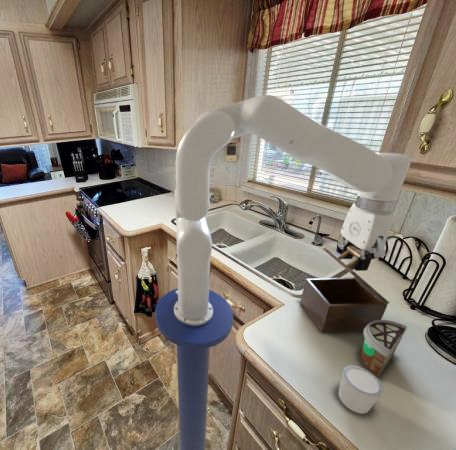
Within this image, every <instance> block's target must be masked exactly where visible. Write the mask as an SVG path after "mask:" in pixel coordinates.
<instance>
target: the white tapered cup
mask: <svg viewBox="0 0 456 450" xmlns="http://www.w3.org/2000/svg"><path fill="white" fill-rule="evenodd" d="M341 373H342V375H341V379H340V383H339V388H338V398H339V400H340V402H341V403H342V404H343V405H344V406H345V407H346V408H347V409H349V410H351V412H354V413H356V414H360V415H363V414H367V413H368V412H369V411H370V410H371V409H372V407H373V406H374V405H375V403H376V402H377V401H378V400H379V398H380V397H381V396H382V394H383V393H384V386H383V385H382V383H381V381H380V379H378V378H377V376H376V375H375V374H373V373H372V372H371V371H370V370H368V369H365V368H363V367H362V366H358V365H346V366H344V368H343V369H342V372H341Z"/></svg>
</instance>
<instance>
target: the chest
mask: <svg viewBox="0 0 456 450" xmlns="http://www.w3.org/2000/svg"><path fill="white" fill-rule="evenodd" d="M301 294H302V295H301V298H300V301H299V303H300V304H301V305H302V307H303V308H304V309H305V311H306V312H307V314H308V315H309V316H310V318H311V319H312V321H313V322H314V323H315V325H316V326H317V327H318V329H319V330H320V331H321V333H330V332H332V333H335V332H364V329H365V327H366V326H367V325H368V324H369V323H371V322H372V321H375V320H383V316H384V314H385V312H386V310H387V307H388V304H386V303H385V302H384V301H382V300H381V299H380V298H379V297H378V296H377V295H375V294H374V293H373V292H372V291H371V290H370V289H368V288H367V287H366V286H365V285H364V284H363V283H361V282H360V281H359V280H358V279H357V278H356V277H354V276H352V277H349V276H348V277H316V278H315V277H314V278H305V280H304V285H303V289H302V293H301Z"/></svg>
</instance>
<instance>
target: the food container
mask: <svg viewBox="0 0 456 450" xmlns="http://www.w3.org/2000/svg"><path fill="white" fill-rule="evenodd" d="M407 329H408V326H407V325H406V324H405V325H404V324H402V323H400V322H396V321H393V320H388V319H381V320H375V321H372V322H371V323H369V324H368V325H367V326H366V327H365V329H364V331H363V336H364V341H363V345H362V349H361V351H360V359H361V362H362V364H363V365H364V366H365V367H366V369H367V370H368V371H369V372H370V373H372V374H373V375H374V376H375V377H379V376H380V374H381V373H382V372H383V371H384V369H385V367H387V365H388V363H389V362H390V360H391V359H392V357H393V356H394V354H395V352H396V350H397V348H398V346H399V344H400V342H401V340H402V338H403V336H404V334H405V332H406V330H407Z"/></svg>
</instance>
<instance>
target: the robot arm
mask: <svg viewBox="0 0 456 450" xmlns="http://www.w3.org/2000/svg"><path fill="white" fill-rule="evenodd" d="M250 134H252V135H255V136H256V137H258V138H260V139H261V140H263V141H264V142H266V143H268V144H270V145H272V146H273V147H275V148H277V149H279V150H280V151H282V152H284V153H285V154H286V155H288V156H290V157H292V158H293V159H296V160H298V161H300V162H302V163H303V164H307V165H309V166H312V167H316V168H318V169H320V170H322V171H325V172H326V173H327V175H328V176H329V178H330V179H331V180H333V181H335V182H336V183H340V184H342V185H344V186H347V187H349V188H351V189H354V190H356V191H358V193H357V196H356V198H355V202H354V203H353V204H352V205H351V206H350V208H349V210H348V212H347V214H346V216H345V219H344V221H343V223H342V226H341V229H340V235H341V236H342V239H343V242H342V245H343V247H342V251H341V252H340V255H341V254H343V253H344V252H345V251H347V247H348V246H350V245H352V246H354V247H355V248H357V249H359V250H360V251H361V257H358V259H357V262H356V264H354V267H353V269H354V271H355V272H360V271H361V272H364V271H365V272H366V271H368V270H369V267H370V265H371V262H372V260H375V259H378V258H381V257H382V258H383V257H385V256H386V250H385V245H386V243H387V239H388V236H389V234H390V230H391V225H392V220H393V210H394V208H395V205H396V203H397V200H398V198H399V195H400V193H401V190H402V187H403V185H404V182H405V180H406V177H407V174H408V172H409V169H410V166H411V163H412V158H411V156H409V155H408V154H403V153H397V152H378V153H376V152H375V151H374V150H372V149H371V148H369V147H367V146H365V145H363V144H361V143H359V142H358V141H356V140H354V139H352V138H349V137H347V136H345V135H343V134H342V133H340V132H338V131H336V130H334V129H332V128H329V127H327V126H325V125H323V124H322V123H320V122H319V121H317V120H315V119H313V118H312V117H310V116H308V115H307V114H305V113H303V112H302V111H300V110H299V109H297V108H296V107H294V106H293V105H291V104H289V103H288V102H286V101H284V100H283V99H281V98H279V97H277V96H276V95H271V94H265V95H263V94H262V95H258V96H257V95H256V96H253V97H250V98H247V99H244V100H242V101H237V102H235V103H231V104H228V105H224V106H221V107H217V108H214V109H210V110H206V111H204V112H202V113H201V114H200V115H199V116H198V117H197V118H196V119H195V122H194V123H193V124H192V125H191V126H190V127H189V128H188V129H187V130H186V131H185V133H183V136H182V138H180V141H179V143H178V146H177V148H176V155H175V189H174V202H175V203H174V206H175V207H174V208H175V225H176V227H175V229H176V255H177V256H176V258H177V259H176V262H177V266H176V267H177V289H178V290H177V291H176V294H177V295H178V301H177V302H176V304H175V306H174V314H175V316H176V318H177V319H178V320H179V321H180V322H182V323H184V324H186V325H190V326H200V325H203V324H206V323H207V322H209V321H210V320H211V318H212V316H213V308H212V305H211V304H210V303H209V290H210V271H211V270H210V269H211V258H212V251H213V240H212V235H211V232H210V229H209V227H208V221H207V214H208V213H209V210H210V207H211V195H210V194H211V193H210V174H211V163H212V160H213V159H214V157H215V155H216V153H218V152H219V151H220V150H221V149H223V148H224V147H225V146H227V145H228V144H229V143H230V142H231V140H233V139H236V138H240V137H243V136H246V135H250ZM368 251H369V253H368ZM354 257H355V256H354V255H352V254H351V253H349V254H347V255H346V256H345V257H344V258H342V259H341V260H353V258H354Z"/></svg>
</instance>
